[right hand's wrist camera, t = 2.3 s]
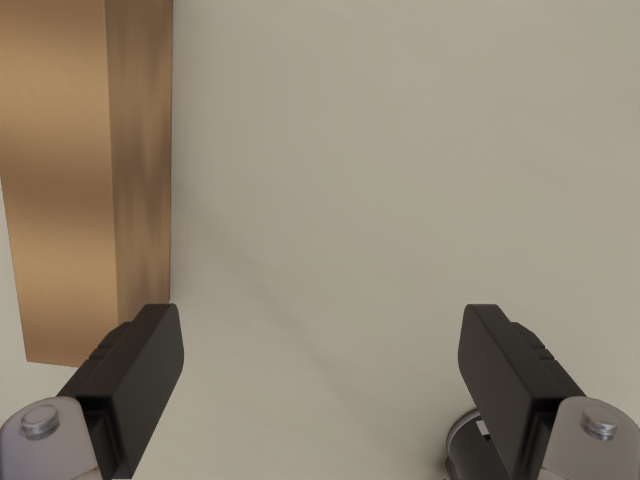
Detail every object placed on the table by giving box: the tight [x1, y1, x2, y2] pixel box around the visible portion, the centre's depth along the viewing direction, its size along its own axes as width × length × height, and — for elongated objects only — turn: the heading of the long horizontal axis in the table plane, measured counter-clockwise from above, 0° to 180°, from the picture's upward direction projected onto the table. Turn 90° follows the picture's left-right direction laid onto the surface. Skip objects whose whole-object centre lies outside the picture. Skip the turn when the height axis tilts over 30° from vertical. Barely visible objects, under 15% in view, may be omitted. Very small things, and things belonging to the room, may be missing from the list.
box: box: [0, 0, 173, 368], centre depth 26 cm, size 24×6×9 cm, turn 172°
